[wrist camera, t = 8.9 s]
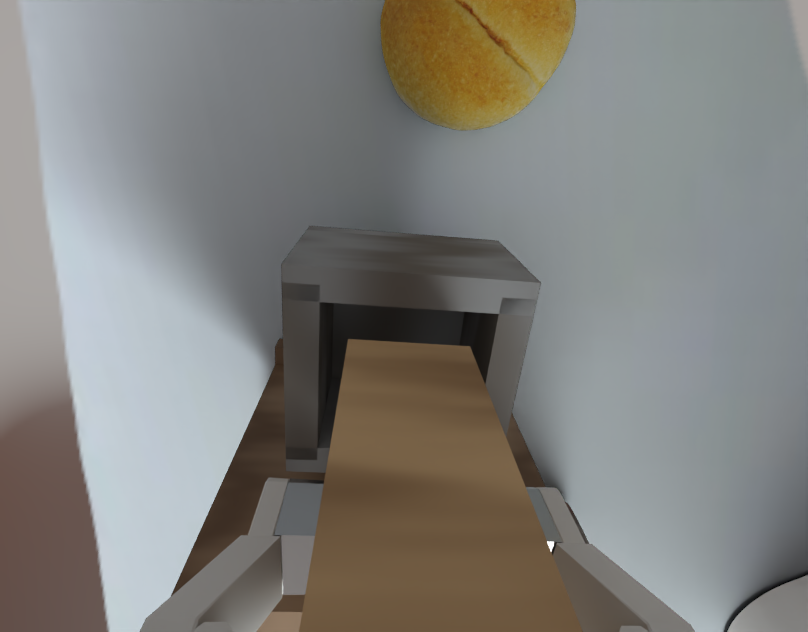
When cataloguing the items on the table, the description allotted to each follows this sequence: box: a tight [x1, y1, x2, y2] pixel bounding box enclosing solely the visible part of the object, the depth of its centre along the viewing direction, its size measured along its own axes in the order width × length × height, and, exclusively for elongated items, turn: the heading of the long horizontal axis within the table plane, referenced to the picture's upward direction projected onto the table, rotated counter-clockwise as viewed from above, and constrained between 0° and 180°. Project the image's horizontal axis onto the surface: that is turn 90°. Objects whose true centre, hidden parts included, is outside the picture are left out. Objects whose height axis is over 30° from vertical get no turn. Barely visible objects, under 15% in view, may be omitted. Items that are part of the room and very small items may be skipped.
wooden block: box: [299, 339, 583, 632], centre depth 9 cm, size 4×4×12 cm
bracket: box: [171, 226, 545, 632], centre depth 20 cm, size 14×15×16 cm
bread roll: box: [381, 0, 576, 130], centre depth 20 cm, size 8×9×4 cm
